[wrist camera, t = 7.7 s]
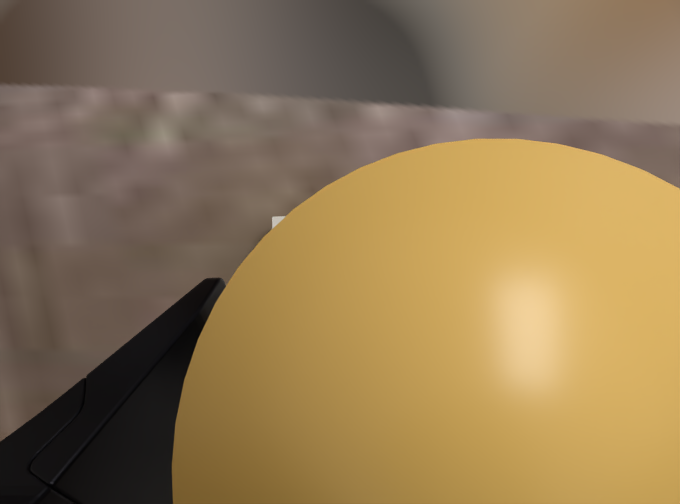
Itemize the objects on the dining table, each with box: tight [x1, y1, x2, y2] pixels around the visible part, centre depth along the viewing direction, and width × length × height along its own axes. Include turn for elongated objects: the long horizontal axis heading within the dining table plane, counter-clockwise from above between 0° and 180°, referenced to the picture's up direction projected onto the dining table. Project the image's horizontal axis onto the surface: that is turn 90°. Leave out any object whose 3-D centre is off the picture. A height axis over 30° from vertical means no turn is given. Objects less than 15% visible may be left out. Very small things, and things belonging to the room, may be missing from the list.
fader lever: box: [172, 139, 680, 504], centre depth 8 cm, size 5×4×11 cm
